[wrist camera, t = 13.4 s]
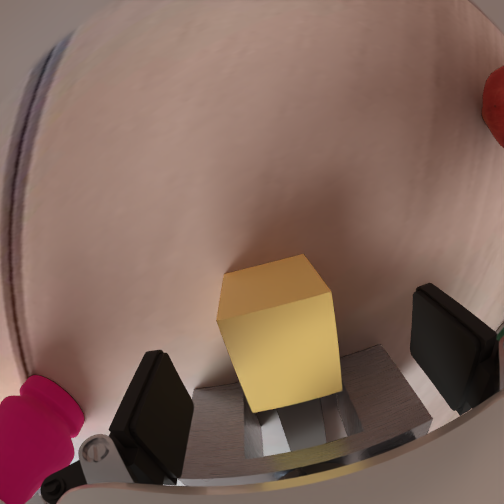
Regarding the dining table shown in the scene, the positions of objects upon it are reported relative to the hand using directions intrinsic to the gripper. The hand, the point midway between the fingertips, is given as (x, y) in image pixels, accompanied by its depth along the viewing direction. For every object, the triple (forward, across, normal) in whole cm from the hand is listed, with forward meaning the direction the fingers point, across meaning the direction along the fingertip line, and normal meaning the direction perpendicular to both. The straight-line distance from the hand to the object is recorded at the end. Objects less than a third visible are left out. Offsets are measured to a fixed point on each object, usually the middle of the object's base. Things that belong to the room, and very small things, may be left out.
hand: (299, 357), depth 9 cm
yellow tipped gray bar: (+5, +1, +8) cm, 9 cm away
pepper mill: (+5, +21, +6) cm, 22 cm away
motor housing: (+5, +1, +8) cm, 9 cm away
